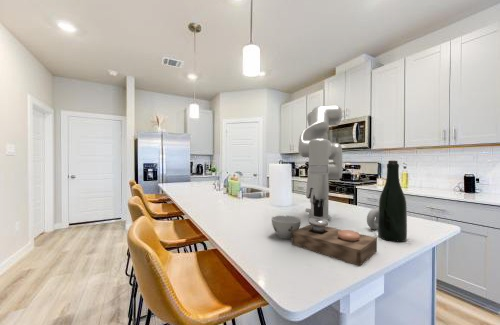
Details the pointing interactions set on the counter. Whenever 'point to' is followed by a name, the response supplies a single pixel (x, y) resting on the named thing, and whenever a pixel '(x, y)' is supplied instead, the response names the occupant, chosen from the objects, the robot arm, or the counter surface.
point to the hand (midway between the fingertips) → (318, 216)
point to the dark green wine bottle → (392, 207)
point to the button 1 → (318, 225)
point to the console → (335, 244)
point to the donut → (373, 218)
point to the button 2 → (348, 235)
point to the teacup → (285, 225)
